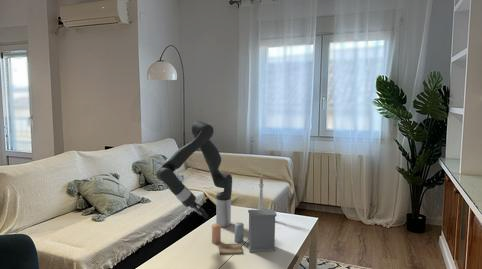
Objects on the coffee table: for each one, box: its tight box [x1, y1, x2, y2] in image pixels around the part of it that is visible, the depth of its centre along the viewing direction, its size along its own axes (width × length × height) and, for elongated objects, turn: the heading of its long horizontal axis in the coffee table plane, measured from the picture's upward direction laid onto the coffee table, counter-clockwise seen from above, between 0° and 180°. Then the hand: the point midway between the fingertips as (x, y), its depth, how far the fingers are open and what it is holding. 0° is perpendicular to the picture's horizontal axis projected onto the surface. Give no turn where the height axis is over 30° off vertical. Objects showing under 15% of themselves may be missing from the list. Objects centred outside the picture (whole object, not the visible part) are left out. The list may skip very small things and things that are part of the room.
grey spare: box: [234, 222, 245, 244], centre depth 193 cm, size 5×5×10 cm
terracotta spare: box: [211, 223, 222, 245], centre depth 192 cm, size 5×5×10 cm
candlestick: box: [257, 174, 265, 210], centre depth 229 cm, size 13×13×30 cm
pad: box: [218, 243, 243, 256], centre depth 183 cm, size 10×12×1 cm
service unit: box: [247, 208, 277, 253], centre depth 184 cm, size 8×14×20 cm, turn 97°
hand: (204, 216), depth 187 cm, fingers open, 8 cm apart
